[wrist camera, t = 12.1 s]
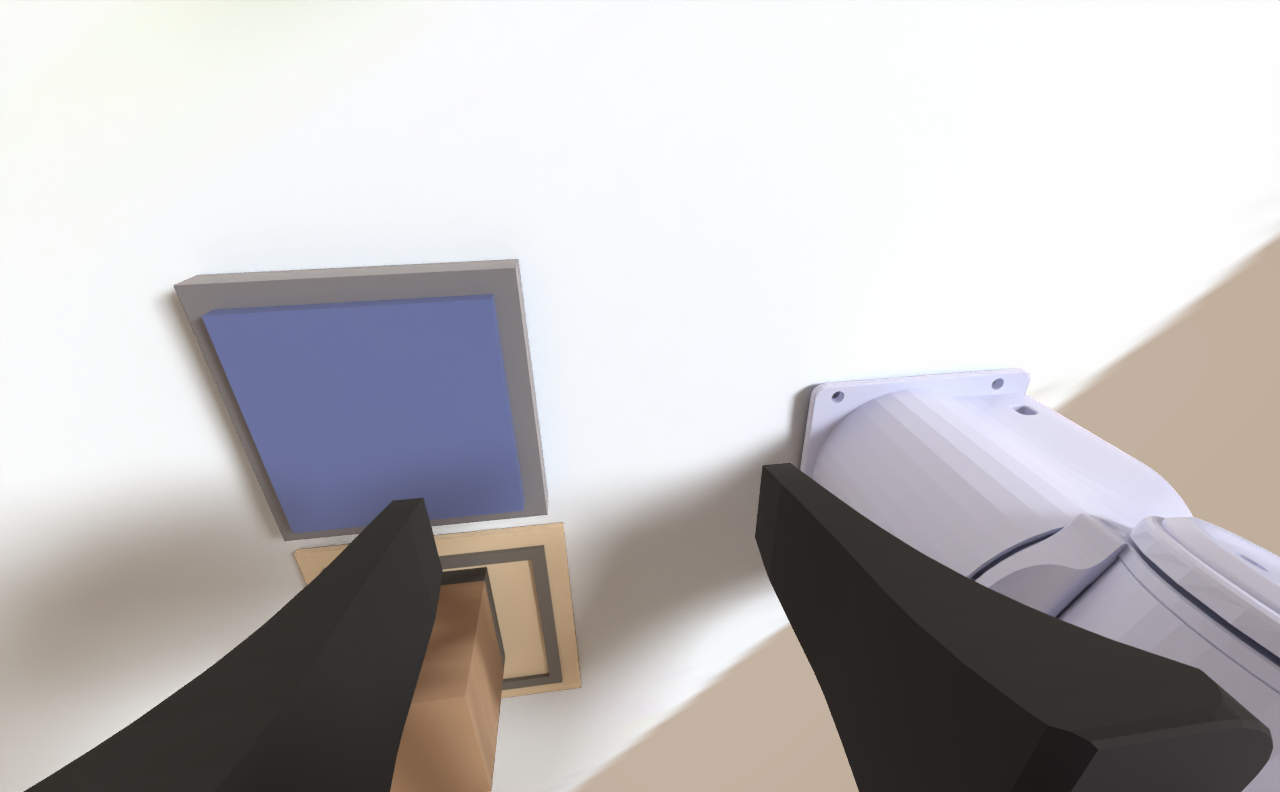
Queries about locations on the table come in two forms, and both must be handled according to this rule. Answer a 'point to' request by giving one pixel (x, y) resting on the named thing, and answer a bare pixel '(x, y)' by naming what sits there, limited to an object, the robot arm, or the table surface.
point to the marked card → (510, 598)
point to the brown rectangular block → (455, 694)
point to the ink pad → (377, 390)
